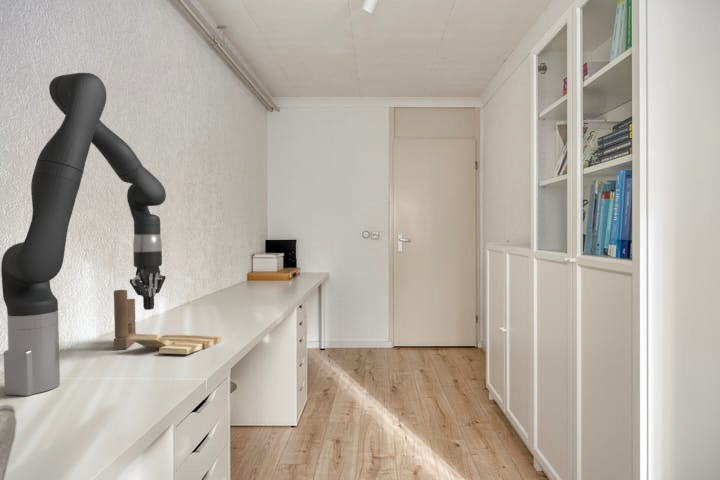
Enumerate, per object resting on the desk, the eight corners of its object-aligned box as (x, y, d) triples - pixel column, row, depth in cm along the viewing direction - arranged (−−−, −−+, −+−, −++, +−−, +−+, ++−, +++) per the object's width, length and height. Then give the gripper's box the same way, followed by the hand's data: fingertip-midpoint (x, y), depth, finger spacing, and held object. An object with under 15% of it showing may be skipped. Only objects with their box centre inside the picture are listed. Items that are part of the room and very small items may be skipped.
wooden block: (136, 341, 144) (134, 286, 144) (126, 349, 134) (125, 290, 134) (123, 342, 143) (122, 287, 143) (113, 350, 133) (111, 291, 133)
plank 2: (186, 354, 124) (186, 348, 124) (159, 353, 126) (159, 347, 126) (202, 348, 132) (202, 343, 132) (176, 347, 134) (176, 342, 134)
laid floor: (204, 349, 132) (204, 343, 132) (145, 347, 136) (145, 341, 136) (221, 341, 142) (221, 336, 142) (165, 339, 146) (165, 334, 146)
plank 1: (156, 339, 127) (157, 334, 127) (129, 339, 128) (130, 334, 129) (171, 347, 133) (172, 342, 134) (145, 346, 135) (147, 341, 136)
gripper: (143, 250, 122) (144, 313, 122) (173, 249, 135) (174, 306, 135) (119, 251, 123) (121, 312, 123) (151, 249, 136) (153, 305, 136)
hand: (149, 309), depth 129 cm, fingers closed
